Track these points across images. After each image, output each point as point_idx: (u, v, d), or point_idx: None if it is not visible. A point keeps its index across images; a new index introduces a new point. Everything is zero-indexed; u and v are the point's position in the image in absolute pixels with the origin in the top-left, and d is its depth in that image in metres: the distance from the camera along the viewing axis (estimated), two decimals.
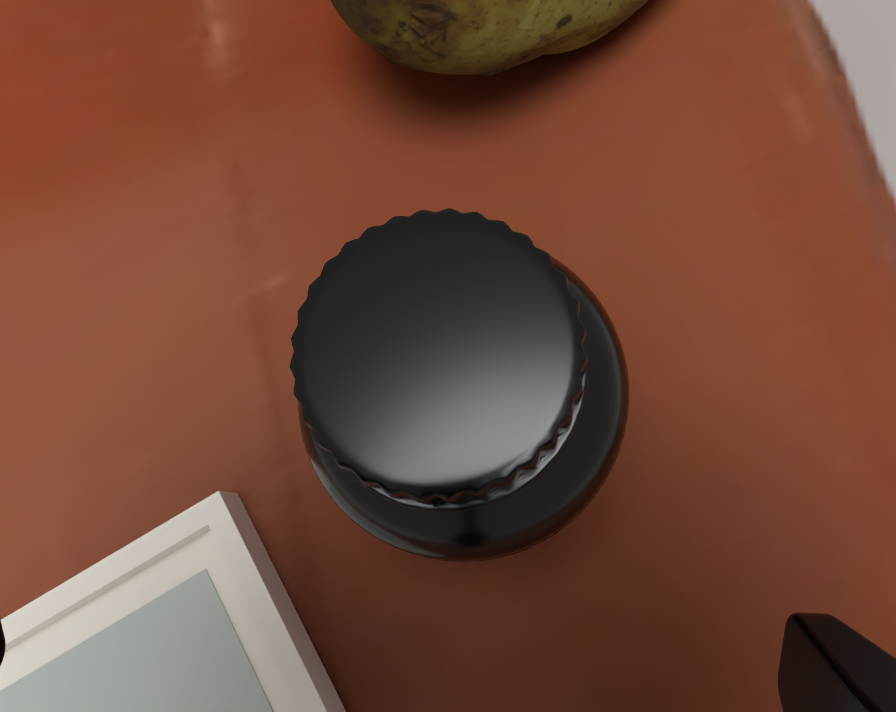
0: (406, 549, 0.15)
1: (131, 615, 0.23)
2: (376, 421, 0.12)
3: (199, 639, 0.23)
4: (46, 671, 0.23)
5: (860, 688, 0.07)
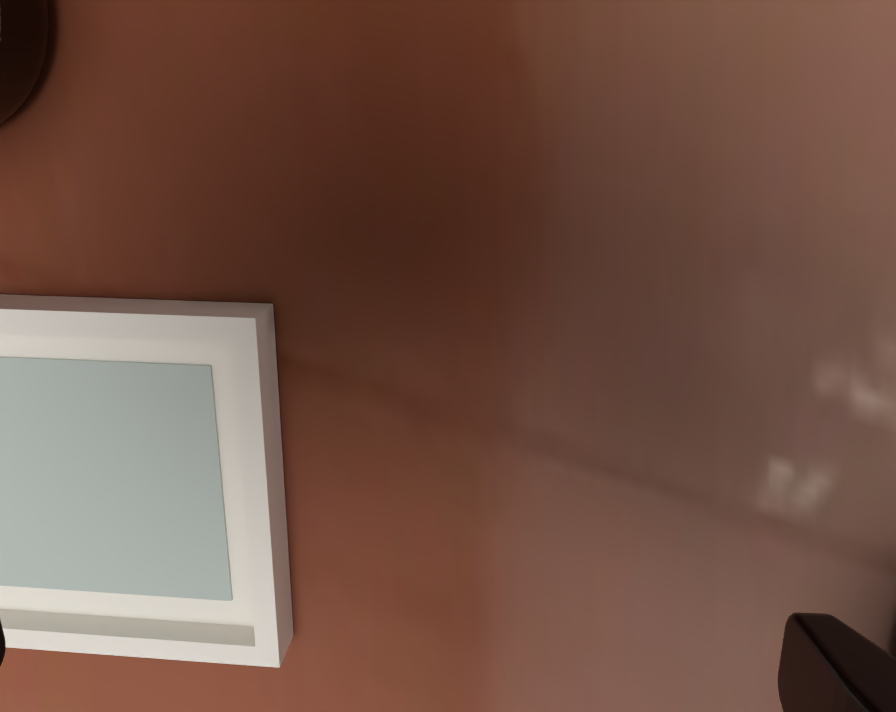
0: None
1: None
2: None
3: (15, 391, 0.22)
4: None
5: (860, 688, 0.07)
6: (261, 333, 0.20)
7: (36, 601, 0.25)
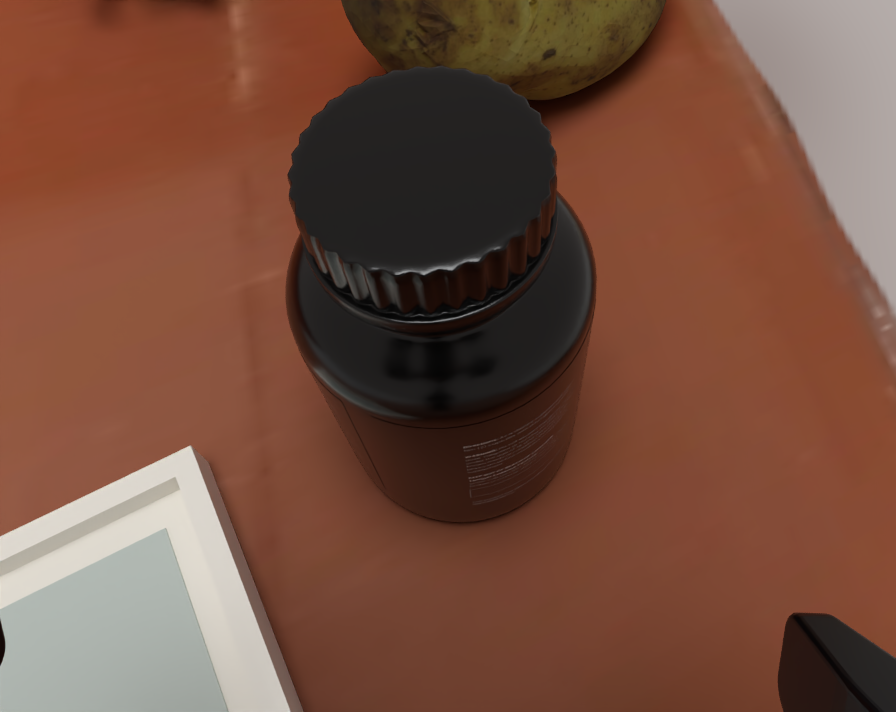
0: (377, 405, 0.15)
1: (81, 572, 0.22)
2: (362, 214, 0.13)
3: (148, 599, 0.22)
4: None
5: (860, 688, 0.07)
6: None
7: None
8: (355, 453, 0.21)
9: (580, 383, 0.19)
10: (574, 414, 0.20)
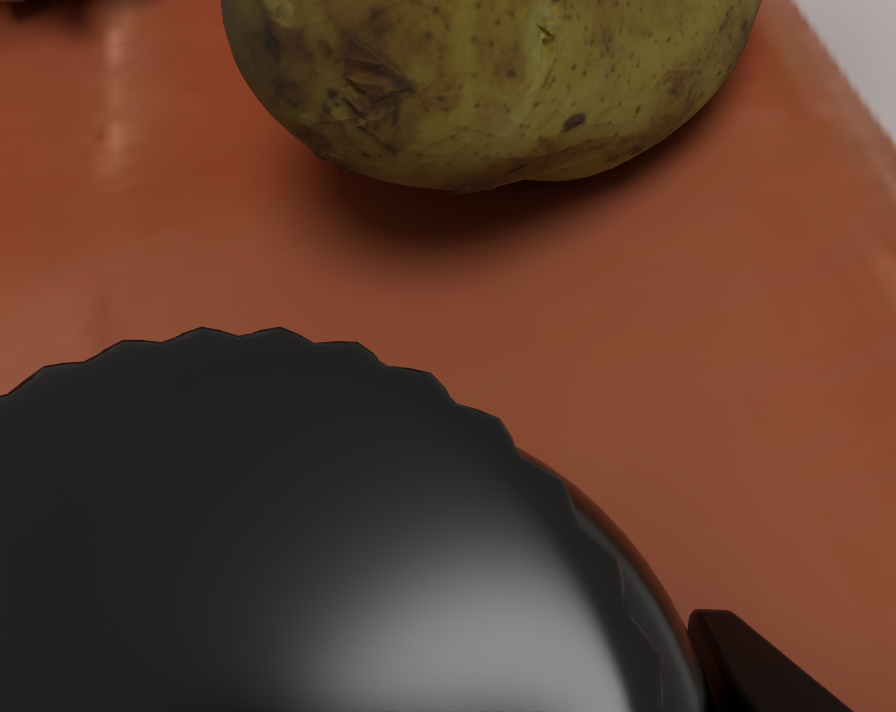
0: None
1: None
2: None
3: None
4: None
5: (739, 683, 0.07)
6: None
7: None
8: None
9: None
10: None
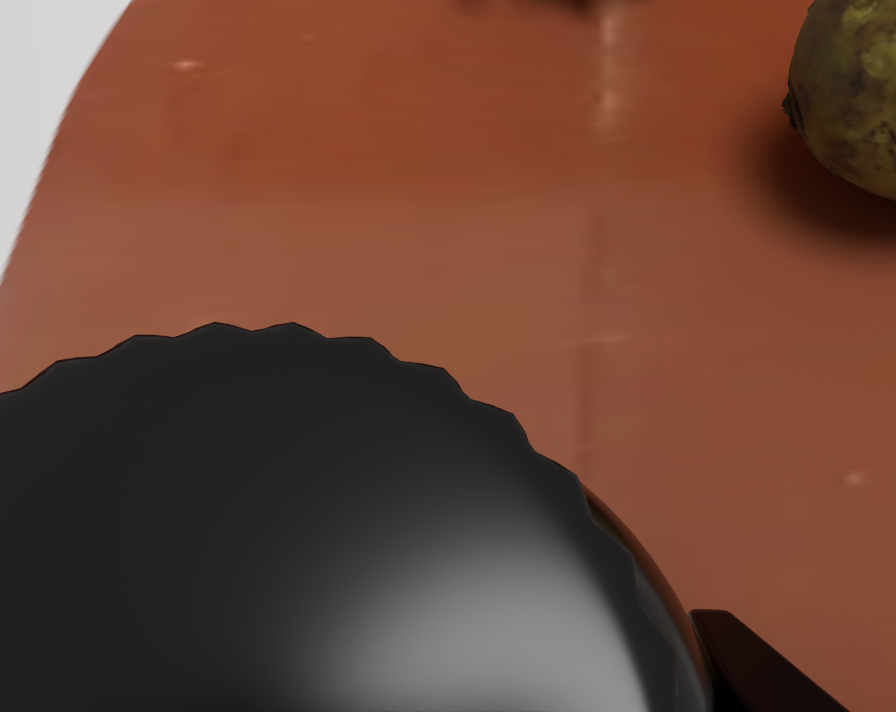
0: None
1: None
2: None
3: None
4: None
5: (736, 683, 0.07)
6: None
7: None
8: None
9: None
10: None
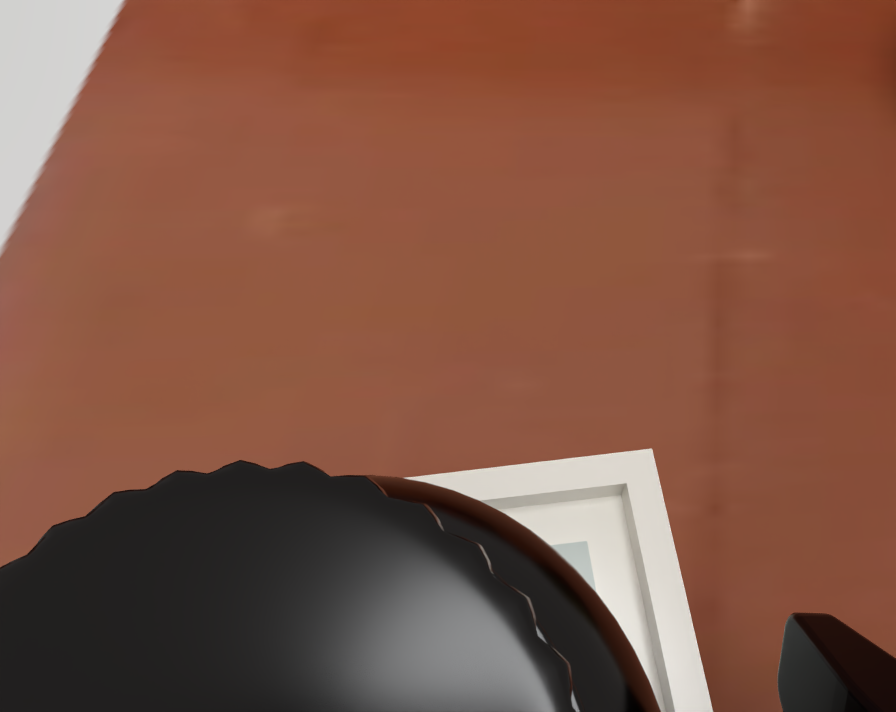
0: None
1: None
2: None
3: None
4: None
5: (859, 688, 0.07)
6: None
7: None
8: None
9: None
10: None
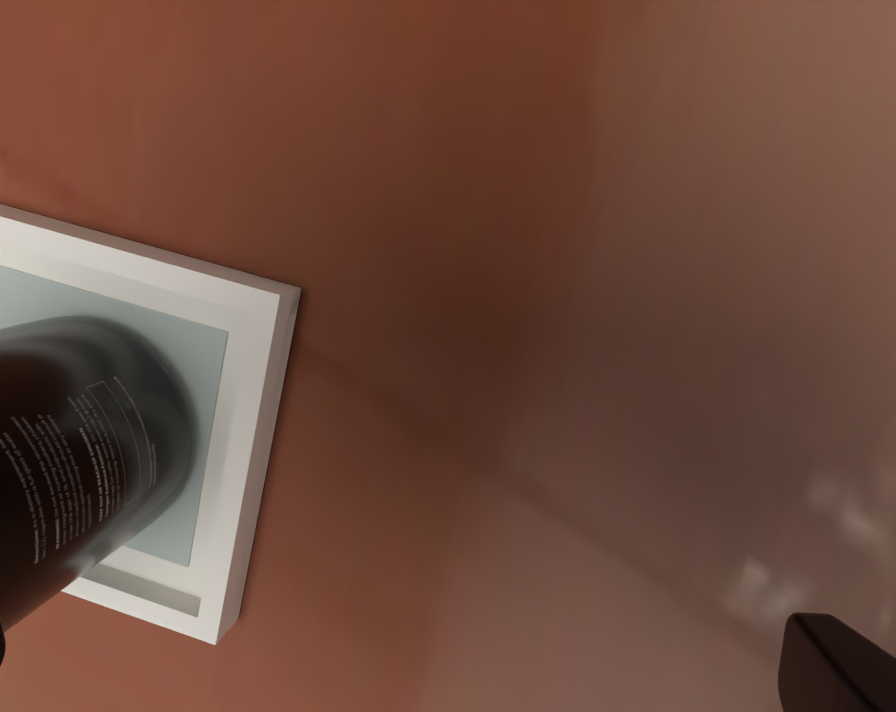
0: None
1: None
2: None
3: (40, 312, 0.23)
4: None
5: (860, 688, 0.07)
6: (282, 312, 0.21)
7: None
8: None
9: (28, 386, 0.17)
10: (82, 371, 0.19)
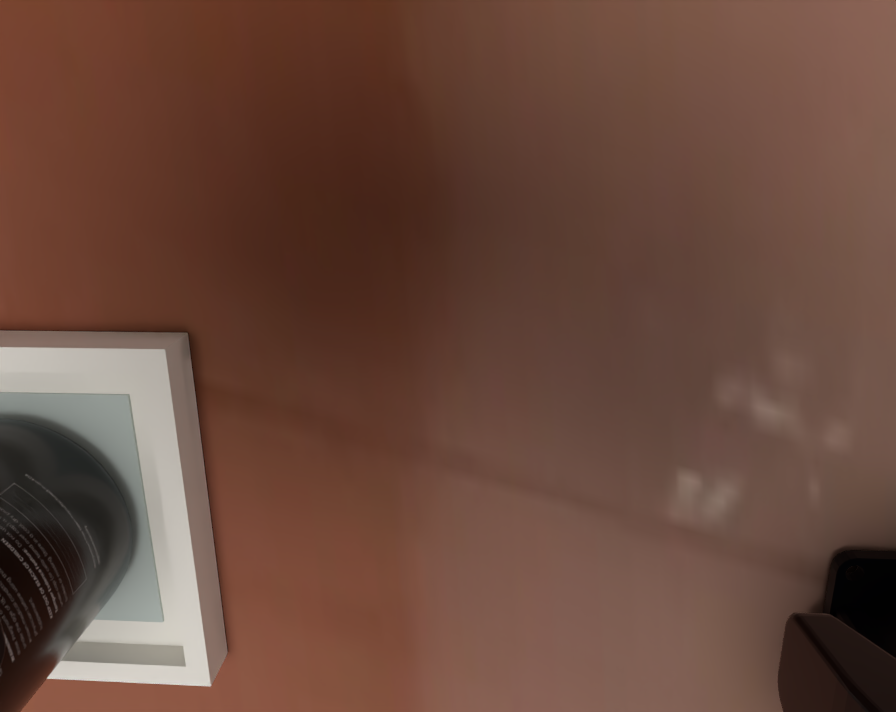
0: None
1: None
2: None
3: None
4: None
5: (860, 688, 0.07)
6: (173, 363, 0.21)
7: None
8: None
9: None
10: None
